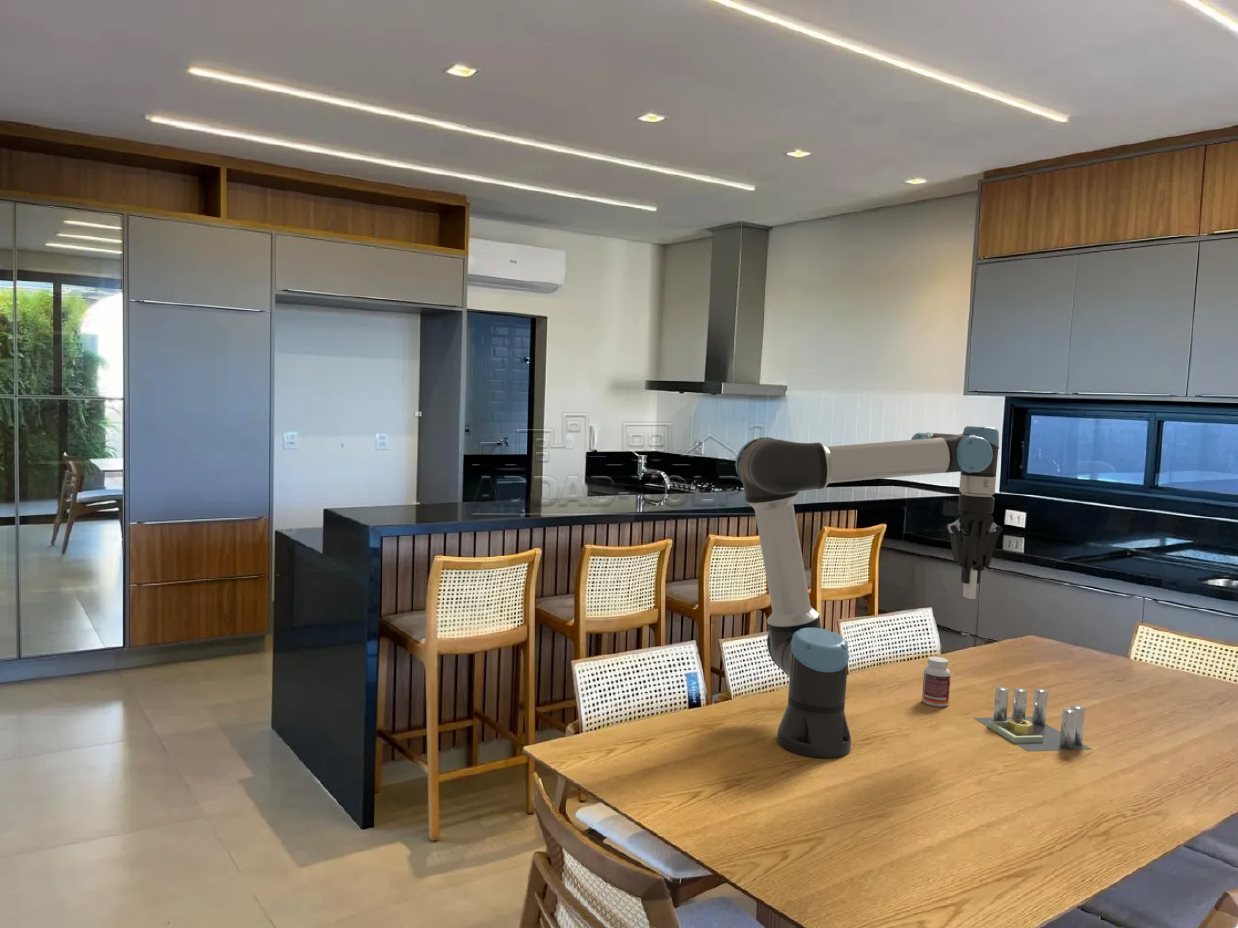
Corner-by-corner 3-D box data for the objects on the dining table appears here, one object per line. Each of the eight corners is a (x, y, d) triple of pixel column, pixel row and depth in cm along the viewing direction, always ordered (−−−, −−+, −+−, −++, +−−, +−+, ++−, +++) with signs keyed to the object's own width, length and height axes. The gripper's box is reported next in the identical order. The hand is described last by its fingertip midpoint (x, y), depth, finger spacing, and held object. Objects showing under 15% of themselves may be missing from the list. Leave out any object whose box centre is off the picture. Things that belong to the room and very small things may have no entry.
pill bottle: (953, 707, 215) (956, 662, 215) (929, 707, 214) (932, 662, 214) (940, 698, 221) (943, 655, 221) (917, 698, 221) (920, 655, 220)
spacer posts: (1040, 750, 188) (1043, 713, 188) (990, 720, 206) (993, 686, 205) (1091, 749, 191) (1094, 712, 190) (1037, 719, 208) (1040, 686, 207)
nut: (1017, 737, 195) (1018, 726, 195) (1003, 728, 200) (1003, 717, 200) (1036, 737, 196) (1037, 725, 196) (1021, 728, 201) (1022, 717, 201)
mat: (1027, 752, 188) (1027, 750, 188) (973, 719, 207) (973, 717, 207) (1092, 751, 190) (1092, 749, 190) (1032, 718, 210) (1032, 716, 210)
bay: (1014, 742, 192) (1014, 737, 192) (987, 726, 202) (987, 721, 202) (1043, 741, 193) (1043, 736, 193) (1015, 725, 203) (1015, 720, 203)
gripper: (959, 495, 196) (952, 601, 197) (1012, 497, 198) (1004, 601, 199) (941, 492, 203) (934, 593, 204) (992, 493, 205) (985, 594, 207)
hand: (969, 597), depth 202 cm, fingers closed
